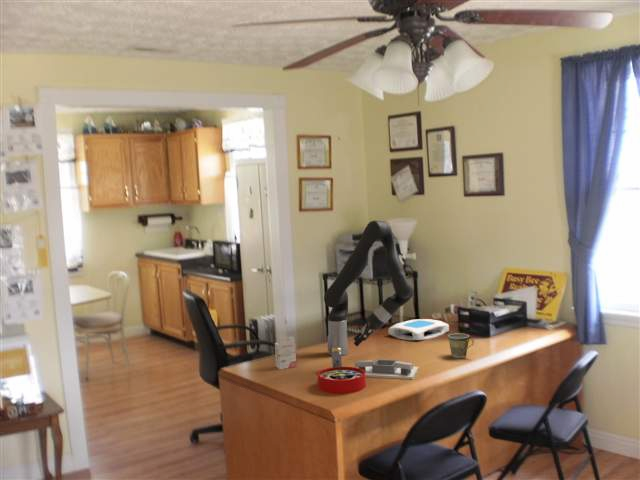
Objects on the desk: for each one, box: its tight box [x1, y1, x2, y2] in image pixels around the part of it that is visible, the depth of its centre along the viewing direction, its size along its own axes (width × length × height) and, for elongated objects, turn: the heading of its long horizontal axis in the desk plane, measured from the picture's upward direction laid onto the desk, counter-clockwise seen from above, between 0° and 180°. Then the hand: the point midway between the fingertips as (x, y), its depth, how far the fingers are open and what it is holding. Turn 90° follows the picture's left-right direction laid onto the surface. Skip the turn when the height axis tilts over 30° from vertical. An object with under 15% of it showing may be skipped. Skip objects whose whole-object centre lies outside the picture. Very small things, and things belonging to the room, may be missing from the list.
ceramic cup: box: [447, 333, 474, 359], centre depth 316 cm, size 13×10×10 cm
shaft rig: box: [354, 358, 419, 380], centre depth 294 cm, size 27×16×6 cm, turn 73°
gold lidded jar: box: [331, 347, 343, 368], centre depth 302 cm, size 4×4×10 cm
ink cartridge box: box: [274, 335, 297, 370], centre depth 309 cm, size 9×5×15 cm, turn 117°
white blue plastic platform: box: [387, 318, 450, 341], centre depth 365 cm, size 21×28×6 cm
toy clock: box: [317, 366, 367, 395], centre depth 277 cm, size 20×6×20 cm
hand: (355, 342), depth 301 cm, fingers open, 8 cm apart
